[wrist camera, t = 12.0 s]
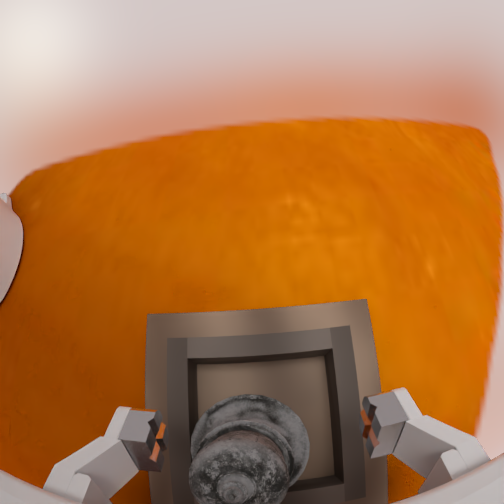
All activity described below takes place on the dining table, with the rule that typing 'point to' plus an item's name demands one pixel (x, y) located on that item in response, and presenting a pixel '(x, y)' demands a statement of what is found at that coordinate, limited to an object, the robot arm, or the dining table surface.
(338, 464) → the walnut board
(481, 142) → the dining table surface
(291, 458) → the grey chess piece
